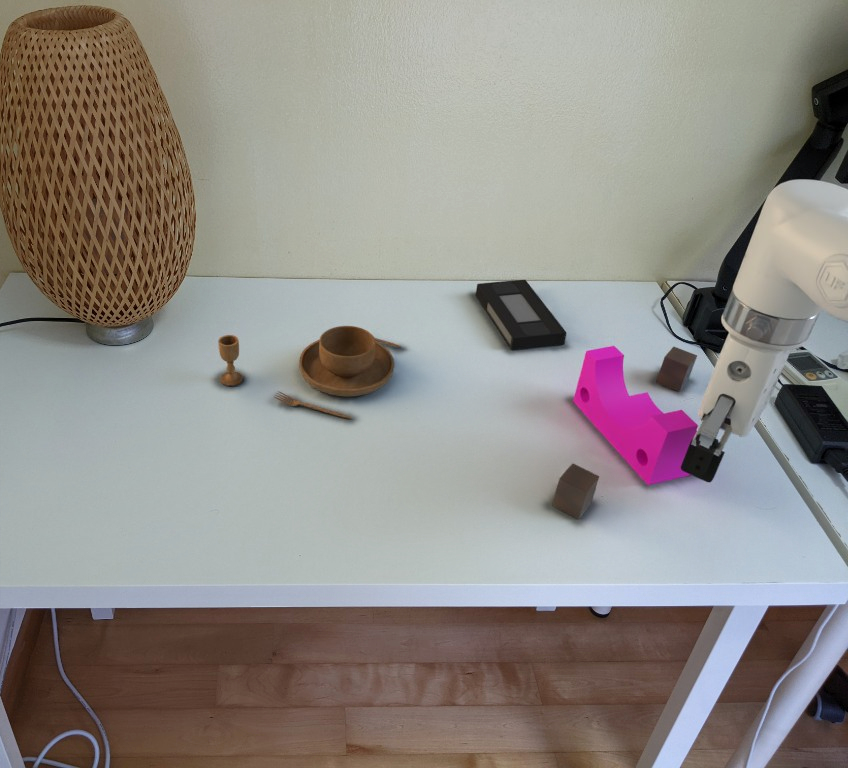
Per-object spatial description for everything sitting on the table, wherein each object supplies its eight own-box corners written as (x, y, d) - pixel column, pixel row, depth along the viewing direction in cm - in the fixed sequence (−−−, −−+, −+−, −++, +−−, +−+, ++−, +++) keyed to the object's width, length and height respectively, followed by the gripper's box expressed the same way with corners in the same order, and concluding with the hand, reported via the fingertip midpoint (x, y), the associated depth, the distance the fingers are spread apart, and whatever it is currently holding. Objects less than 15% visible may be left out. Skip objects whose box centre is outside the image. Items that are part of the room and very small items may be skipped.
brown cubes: (688, 381, 98) (697, 355, 95) (578, 520, 79) (586, 492, 76) (664, 371, 99) (673, 346, 97) (551, 505, 80) (559, 478, 78)
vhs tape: (511, 350, 102) (513, 338, 101) (474, 295, 114) (476, 283, 112) (563, 345, 104) (566, 332, 102) (523, 291, 115) (525, 279, 114)
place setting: (366, 427, 90) (368, 386, 86) (213, 385, 95) (210, 346, 92) (411, 347, 103) (415, 309, 99) (275, 315, 108) (273, 278, 105)
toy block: (696, 473, 84) (718, 420, 80) (648, 485, 83) (667, 432, 78) (617, 392, 96) (632, 342, 91) (573, 401, 94) (586, 350, 90)
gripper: (785, 372, 65) (721, 513, 75) (834, 292, 76) (771, 425, 86) (696, 339, 69) (646, 478, 79) (755, 268, 80) (704, 398, 90)
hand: (711, 450), depth 83 cm, fingers open, 9 cm apart
